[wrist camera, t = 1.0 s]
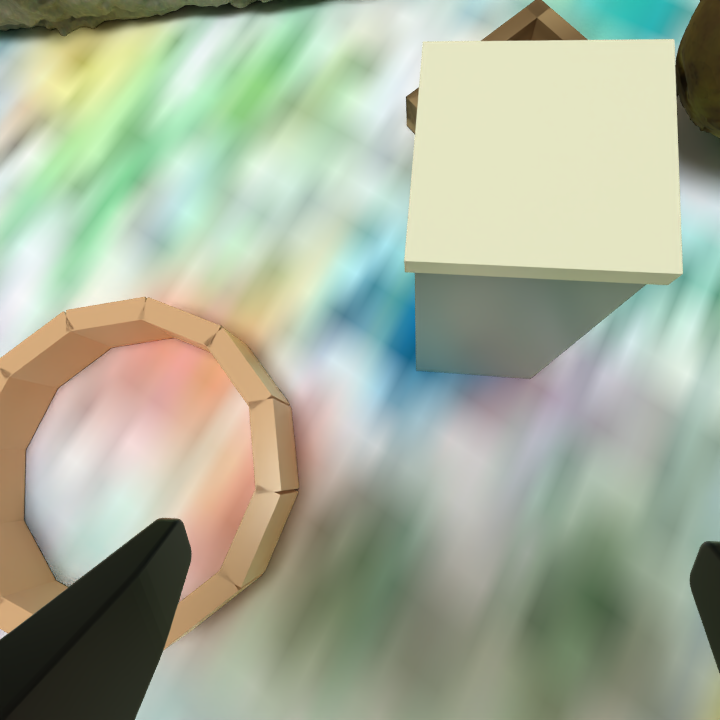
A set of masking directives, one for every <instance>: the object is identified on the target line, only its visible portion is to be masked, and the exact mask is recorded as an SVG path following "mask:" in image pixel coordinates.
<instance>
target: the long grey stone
mask: <svg viewBox="0 0 720 720" xmlns="http://www.w3.org/2000/svg"><path fill="white" fill-rule="evenodd" d="M255 1H257V0H0V30H2V31H7V30H9V29H19V28H33V27H34V26H45V27H46V28H47V29H49V30H52V29H53V28H57V29H58V31H59V33H60V34H61V35H62V36H66V35H67V34H69V33H70V32H72V31H74V30H76V29H78V28H79V27H91V28H95V27H96V26H98V25H99V24H101V23H102V22H103V21H105V20H115V19H123V20H124V19H138V18H140V17H150V16H154V15H155V14H158V15H160V16H162V15H164V14H166V13H169V12H171V11H176V10H178V9H179V8H181V7H183V6H184V5H196V6H201V7H204V6H215V7H218V6H220V5H223V4H228V3H229V2H230V3H231V5H233V6H235V7H237V8H243V7H246V6H247V5H249V4H250V3H253V2H255ZM260 1H262V2H268V1H271V0H260Z"/></svg>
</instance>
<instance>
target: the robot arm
mask: <svg viewBox="0 0 720 720" xmlns="http://www.w3.org/2000/svg"><path fill="white" fill-rule="evenodd" d="M190 562H191V547H190V544H189V540H188V537H187V533H186V530H185V527H184V524H183V522H182V521H181V520H180V519H174V518H160V519H157V520H156V521H154V522H153V523H152V524H150V525H149V526H148V527H146V528H145V529H144V530H142V531H141V532H140V533H138V534H137V535H136V536H135V537H133V538H132V539H131V540H129V541H128V542H127V543H125V544H124V545H123V546H122V547H120V548H119V549H118V550H116V551H115V552H114V553H112V554H111V555H110V556H109V557H107V558H106V559H105V560H103V561H102V562H101V563H99V564H98V565H97V566H95V567H94V568H93V569H92V570H90V571H89V572H88V573H86V574H85V575H84V576H82V577H81V578H80V579H79V580H77V581H76V582H75V583H73V584H72V585H71V586H69V587H68V588H67V589H66V590H64V591H63V592H62V593H60V594H59V595H58V596H56V597H55V598H54V599H52V600H51V601H50V602H49V603H47V604H46V605H45V606H43V607H42V608H41V609H39V610H38V611H37V612H36V613H34V614H33V615H32V616H30V617H29V618H28V619H26V620H25V621H24V622H23V623H21V624H20V625H19V626H17V627H16V628H15V629H13V630H12V631H11V632H9V633H8V634H7V635H6V636H4V637H3V638H2V639H0V720H135V718H136V715H137V713H138V711H139V708H140V706H141V703H142V701H143V699H144V696H145V694H146V691H147V689H148V686H149V684H150V682H151V679H152V677H153V674H154V672H155V670H156V667H157V665H158V662H159V660H160V657H161V655H162V652H163V650H164V647H165V644H166V641H167V638H168V635H169V632H170V629H171V625H172V622H173V619H174V616H175V612H176V609H177V606H178V602H179V599H180V596H181V592H182V589H183V586H184V582H185V579H186V576H187V572H188V569H189V566H190ZM690 587H691V591H692V594H693V597H694V600H695V603H696V606H697V608H698V611H699V614H700V617H701V620H702V623H703V626H704V629H705V632H706V635H707V638H708V641H709V644H710V647H711V650H712V652H713V655H714V658H715V661H716V664H717V667H718V670H719V673H720V542H715V541H707V542H704V543H703V544H702V545H701V547H700V549H699V552H698V554H697V557H696V560H695V562H694V565H693V568H692V570H691V573H690Z"/></svg>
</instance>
